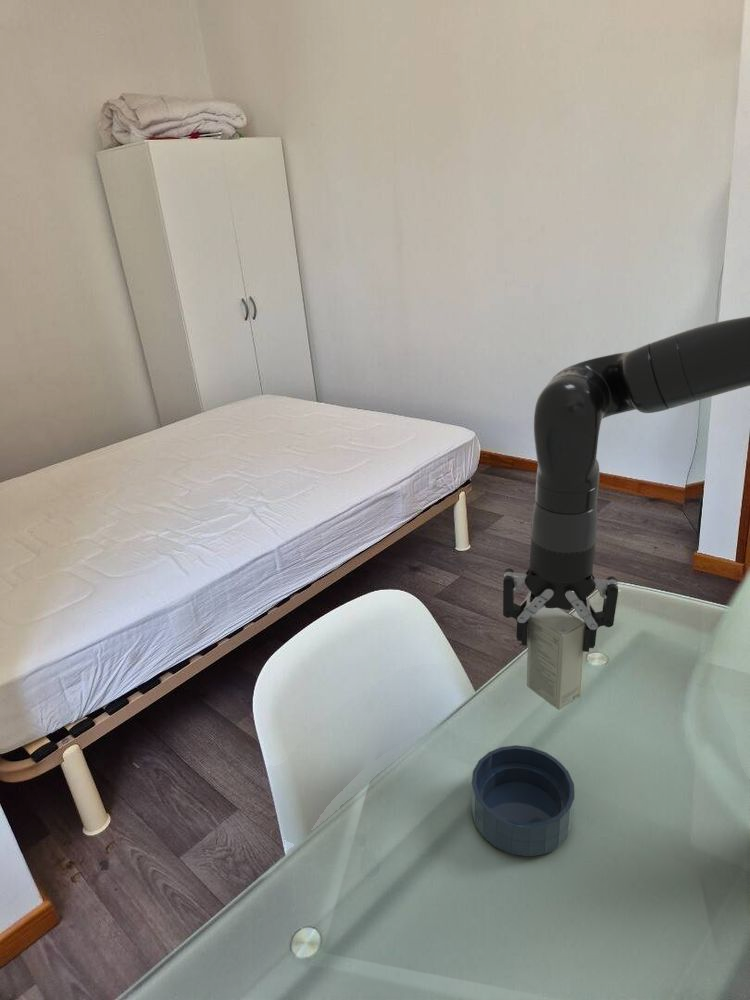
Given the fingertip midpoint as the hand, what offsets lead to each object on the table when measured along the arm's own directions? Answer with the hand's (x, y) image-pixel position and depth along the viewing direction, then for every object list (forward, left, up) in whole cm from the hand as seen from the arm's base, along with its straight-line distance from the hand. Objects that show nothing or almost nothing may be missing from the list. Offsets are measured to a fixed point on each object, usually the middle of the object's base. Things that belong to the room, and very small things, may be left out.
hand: (554, 644), depth 90 cm
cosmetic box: (0, 0, -8) cm, 8 cm away
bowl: (+3, +8, -23) cm, 24 cm away
